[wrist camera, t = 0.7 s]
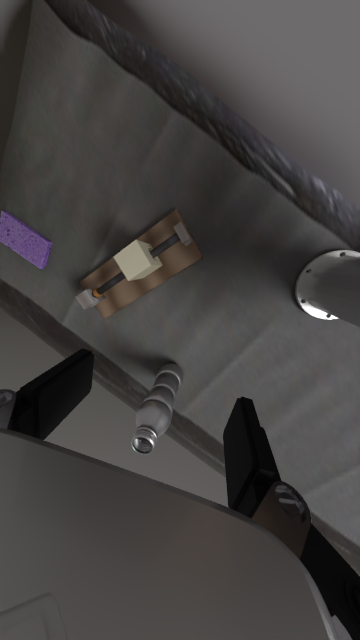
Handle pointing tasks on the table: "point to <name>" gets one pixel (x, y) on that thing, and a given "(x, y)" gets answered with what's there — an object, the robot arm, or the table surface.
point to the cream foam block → (137, 260)
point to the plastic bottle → (157, 409)
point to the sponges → (24, 240)
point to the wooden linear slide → (175, 255)
